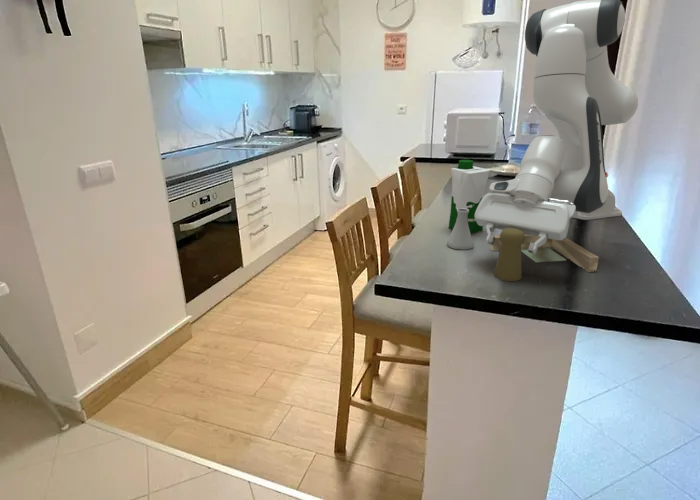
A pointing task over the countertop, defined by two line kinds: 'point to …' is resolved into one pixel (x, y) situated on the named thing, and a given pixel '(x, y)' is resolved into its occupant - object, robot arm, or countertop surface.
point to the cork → (510, 255)
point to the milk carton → (467, 192)
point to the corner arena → (548, 255)
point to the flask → (461, 232)
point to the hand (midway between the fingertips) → (510, 247)
